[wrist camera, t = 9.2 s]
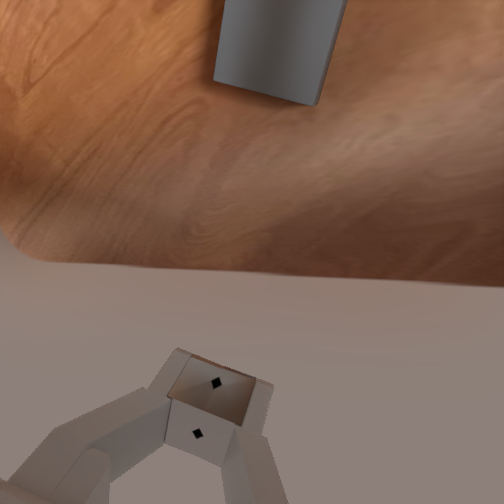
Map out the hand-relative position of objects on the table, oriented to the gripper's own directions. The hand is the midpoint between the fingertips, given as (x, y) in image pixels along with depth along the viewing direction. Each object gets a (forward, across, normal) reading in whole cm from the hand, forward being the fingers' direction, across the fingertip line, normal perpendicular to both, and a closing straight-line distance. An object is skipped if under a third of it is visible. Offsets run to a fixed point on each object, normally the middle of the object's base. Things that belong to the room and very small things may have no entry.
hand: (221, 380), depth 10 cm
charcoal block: (+24, +5, -12) cm, 27 cm away
